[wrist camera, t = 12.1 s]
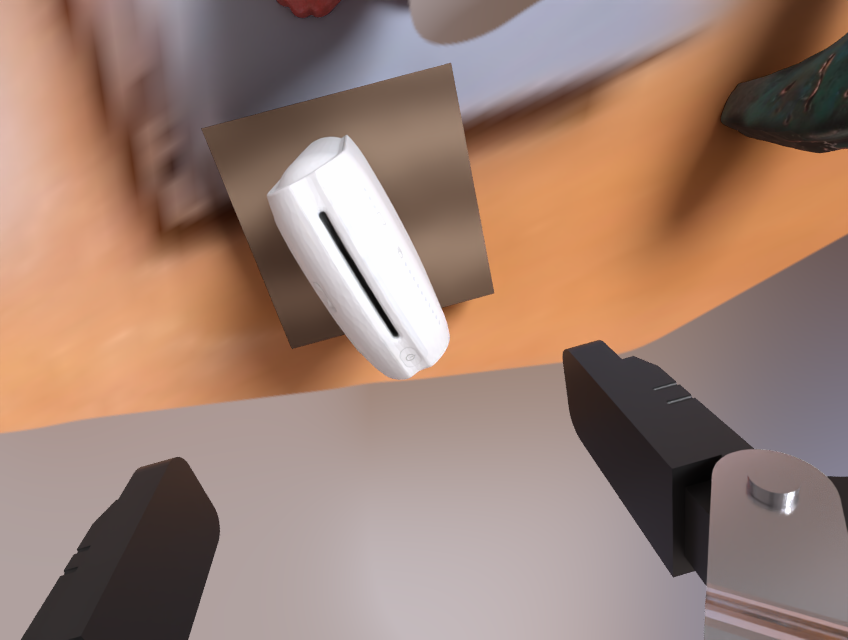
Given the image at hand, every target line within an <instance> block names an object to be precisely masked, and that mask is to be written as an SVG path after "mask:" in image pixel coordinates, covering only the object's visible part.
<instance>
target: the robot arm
mask: <svg viewBox="0 0 848 640" xmlns="http://www.w3.org/2000/svg"><path fill="white" fill-rule="evenodd" d="M563 366H564V374H565V381H566V389H567V397H568V405H569V411H570V416H571V419H572V423H573V426H574V428H575V431H576V433H577V435H578V436H579V438H580V440H581V442H582V443H583V445H584V446H585V447H586V449H587V450H588V452H589V453H590V455H591V456H592V458H593V459H594V461H595V462H596V464H597V465H598V467H599V468H600V470H601V471H602V473H603V474H604V476H605V477H606V478H607V480H608V482H609V483H610V484H611V486H612V487H613V489H614V490H615V492H616V493H617V495H618V496H619V498H620V499H621V501H622V502H623V504H624V505H625V507H626V508H627V510H628V511H629V513H630V514H631V515H632V517H633V518H634V520H635V522H636V523H637V525H638V526H639V528H640V529H641V530H642V532H643V533H644V535H645V536H646V538H647V539H648V541H649V542H650V544H651V545H652V547H653V548H654V550H655V551H656V553H657V554H658V556H659V557H660V559H661V560H662V562H663V563H664V565H665V566H666V568H667V569H668V570H669V572H670V573H671V575H672V576H673V577H676V576H679V575H683V574H686V573H690V572H693V571H696V572H697V574H698V575H699V577H700V578H701V579H702V580H703V582H704V583H705V585H706V586H707V588H706V603H705V622H704V640H848V477H832V476H826V475H825V474H823V473H822V472H821V471H820V470H818V469H817V468H815V467H814V466H812V465H811V464H808V463H807V462H805V461H803V460H801V459H799V458H796V457H794V456H791V455H788V454H784V453H781V452H776V451H771V450H763V449H762V450H761V449H754V448H753V447H751V446H750V445H749V444H748V443H747V442H746V441H745V440H743V439H742V438H741V437H740V436H739V435H738V434H736V433H735V432H734V431H733V430H732V429H730V428H729V427H728V426H727V425H726V424H725V423H724V422H723V421H721V420H720V419H719V418H718V417H717V416H716V415H714V414H713V413H712V412H711V411H710V410H709V409H707V408H706V407H705V406H704V405H703V404H702V403H700V402H699V401H698V400H697V399H696V398H692V397H691V394H690V393H689V392H688V391H686V390H685V389H684V388H683V387H682V386H681V385H677V383H676V381H675V380H674V379H672V378H671V377H670V376H669V375H668V374H667V373H666V372H664V371H663V370H662V369H661V368H660V367H658V366H657V365H654V364H652V363H649V362H646V361H644V360H642V359H639V358H637V357H634V356H632V357H628V358H625V359H621V358H620V357H619V356H618V355H617V354H616V353H615V352H614V351H613V350H612V349H611V348H609V347H608V346H607V345H606V344H605V343H604V342H603V341H601V340H597V341H594V342H590V343H587V344H583V345H580V346H576V347H572V348H569V349H565V350H564V351H563ZM219 535H220V525H219V519H218V515H217V512H216V510H215V508H214V506H213V504H212V503H211V501H210V499H209V498H208V496H207V494H206V493H205V491H204V489H203V488H202V486H201V484H200V483H199V481H198V479H197V478H196V476H195V474H194V473H193V471H192V469H191V468H190V466H189V464H188V463H187V462H186V461H185V460H184V459H183V458H180V457H176V458H172V459H168V460H165V461H161V462H158V463H154V464H150V465H147V466H143V467H140V468H139V469H137V470H136V471H135V473H134V474H133V476H132V477H131V479H130V481H129V483H128V484H127V486H126V487H125V489H124V491H123V493H122V494H121V496H120V498H119V499H118V500H116V501H115V502H114V503H113V504H112V505H111V506H110V507H109V508H108V509H107V510H106V511H105V512H104V513H103V514H102V515H101V516H100V517H99V518H98V519H97V520H96V521H95V522H94V523H93V524H92V526H91V528H90V529H89V531H88V533H87V534H86V536H85V537H84V539H83V540H82V542H81V544H80V545H79V547H78V548H77V551H78V553H77V554H74V555H73V557H72V558H71V560H70V562H69V563H68V565H67V566H66V568H65V569H64V572H65V573H64V575H63V576H60V578H59V579H58V581H57V582H56V584H55V586H54V587H53V589H52V590H51V592H50V594H49V596H48V597H47V598H46V600H45V602H44V603H43V605H42V607H41V609H40V610H39V611H38V613H37V615H36V616H35V618H34V620H33V621H32V623H31V624H30V626H29V628H28V629H27V631H26V632H25V634H24V636H23V637H22V639H21V640H188V638H189V635H190V632H191V628H192V625H193V622H194V619H195V616H196V612H197V609H198V606H199V603H200V599H201V596H202V593H203V590H204V587H205V583H206V580H207V577H208V573H209V570H210V567H211V564H212V561H213V557H214V554H215V551H216V548H217V544H218V541H219Z"/></svg>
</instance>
